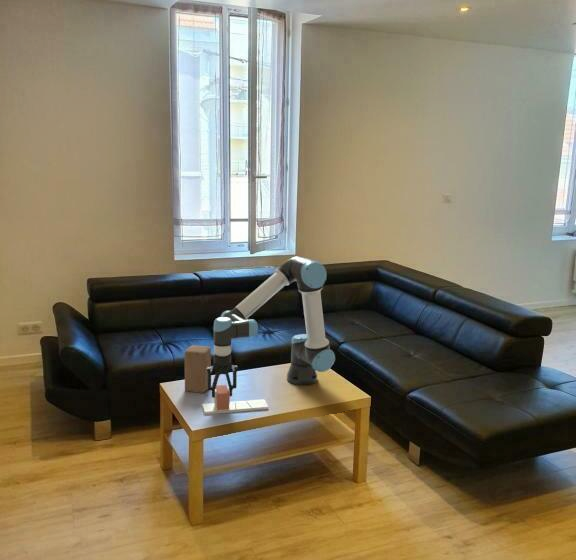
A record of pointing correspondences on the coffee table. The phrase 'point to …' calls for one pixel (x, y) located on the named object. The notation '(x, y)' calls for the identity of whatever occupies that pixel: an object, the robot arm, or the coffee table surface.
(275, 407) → the coffee table surface
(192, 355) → the wooden block
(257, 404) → the board
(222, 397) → the block
